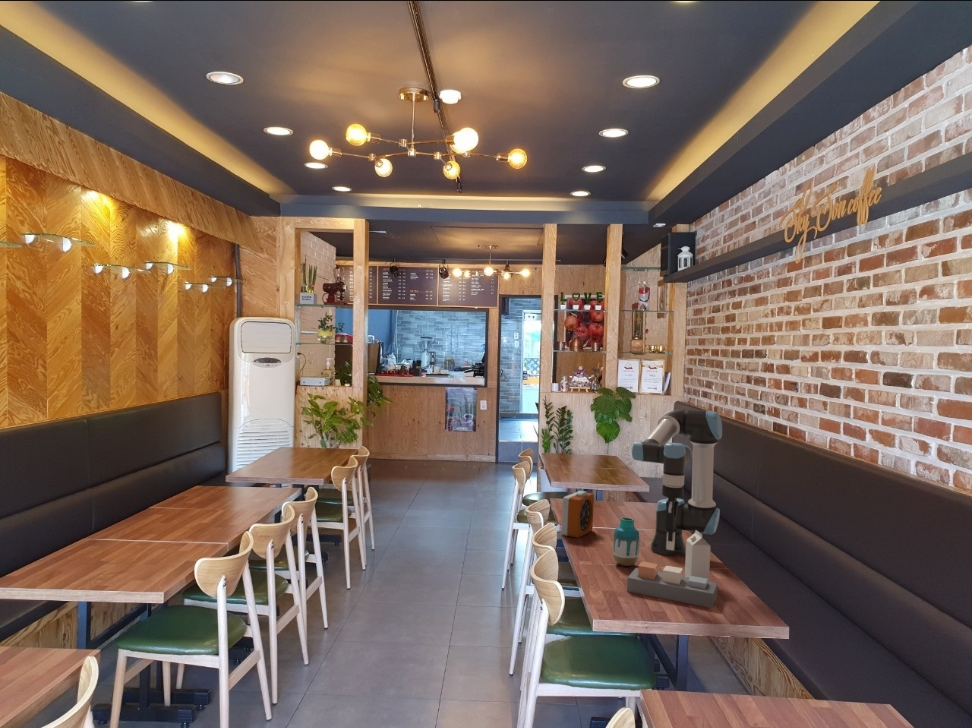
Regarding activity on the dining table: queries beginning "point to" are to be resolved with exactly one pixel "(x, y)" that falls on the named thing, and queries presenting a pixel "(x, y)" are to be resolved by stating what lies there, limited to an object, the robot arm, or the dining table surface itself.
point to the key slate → (698, 582)
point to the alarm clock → (577, 514)
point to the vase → (626, 543)
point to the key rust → (648, 570)
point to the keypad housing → (673, 589)
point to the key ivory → (672, 574)
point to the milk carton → (697, 556)
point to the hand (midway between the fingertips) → (670, 549)
